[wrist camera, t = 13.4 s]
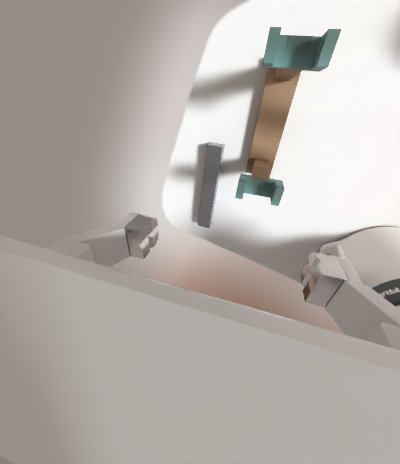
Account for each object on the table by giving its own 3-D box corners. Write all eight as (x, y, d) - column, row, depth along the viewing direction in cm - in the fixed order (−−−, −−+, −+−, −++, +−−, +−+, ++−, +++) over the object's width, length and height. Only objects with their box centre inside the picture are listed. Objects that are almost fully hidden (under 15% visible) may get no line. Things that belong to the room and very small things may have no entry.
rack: (272, 173, 33) (276, 209, 22) (243, 169, 34) (234, 201, 23) (307, 57, 24) (344, 18, 13) (268, 55, 25) (272, 17, 14)
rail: (211, 222, 42) (209, 228, 40) (200, 219, 43) (197, 225, 41) (225, 144, 33) (222, 147, 31) (210, 142, 33) (207, 144, 31)
